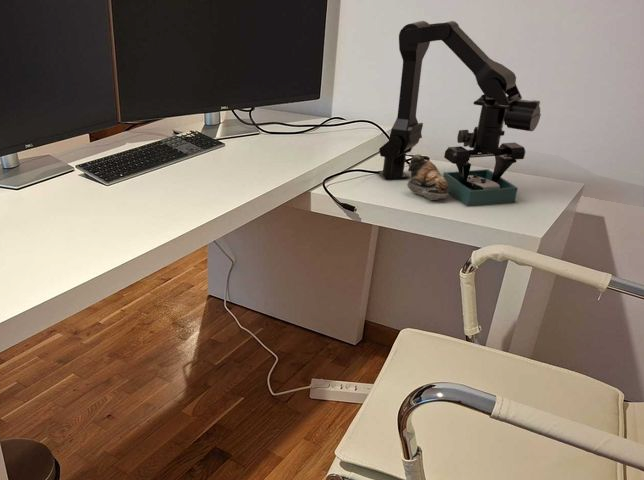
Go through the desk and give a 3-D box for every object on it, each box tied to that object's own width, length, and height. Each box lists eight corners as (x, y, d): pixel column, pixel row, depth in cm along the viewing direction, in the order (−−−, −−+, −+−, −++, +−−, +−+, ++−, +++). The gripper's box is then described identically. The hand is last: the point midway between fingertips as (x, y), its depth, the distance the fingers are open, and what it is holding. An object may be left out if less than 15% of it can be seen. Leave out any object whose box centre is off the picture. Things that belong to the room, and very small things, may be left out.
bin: (441, 186, 181) (443, 172, 179) (485, 182, 182) (488, 169, 179) (467, 206, 168) (470, 191, 166) (514, 202, 169) (518, 187, 167)
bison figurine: (452, 199, 172) (459, 160, 167) (434, 205, 169) (441, 166, 164) (415, 187, 181) (420, 150, 175) (397, 193, 178) (402, 156, 172)
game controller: (503, 187, 172) (495, 175, 168) (490, 205, 172) (482, 192, 168) (472, 178, 179) (464, 165, 175) (459, 194, 179) (451, 182, 175)
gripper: (510, 114, 172) (497, 173, 181) (440, 119, 171) (430, 178, 180) (533, 125, 163) (518, 187, 172) (459, 130, 162) (448, 192, 171)
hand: (477, 185), depth 174 cm, fingers closed on game controller, 8 cm apart
